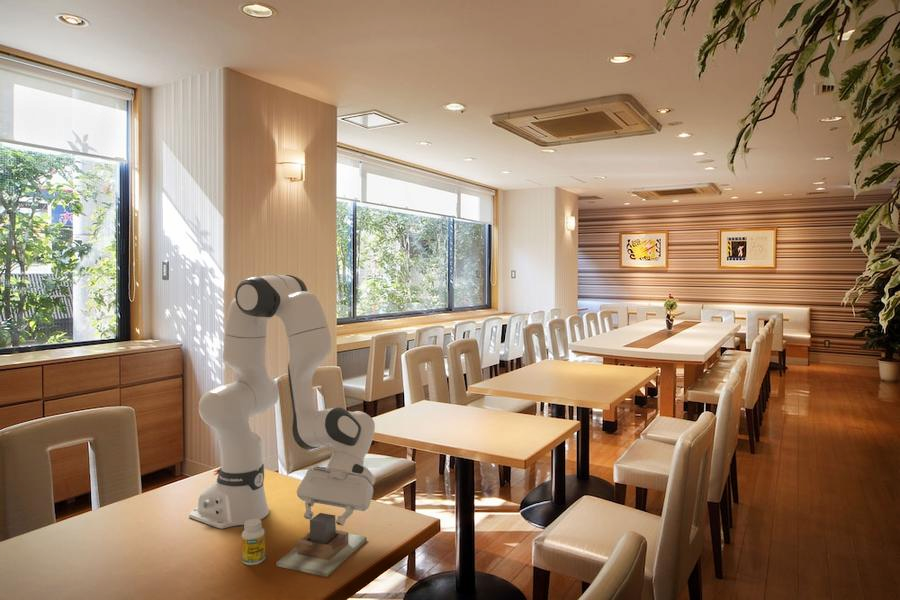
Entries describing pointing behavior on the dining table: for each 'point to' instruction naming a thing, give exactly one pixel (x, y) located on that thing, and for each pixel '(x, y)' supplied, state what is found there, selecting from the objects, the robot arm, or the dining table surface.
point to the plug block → (322, 528)
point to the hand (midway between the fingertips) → (323, 521)
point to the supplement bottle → (253, 542)
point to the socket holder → (321, 554)
